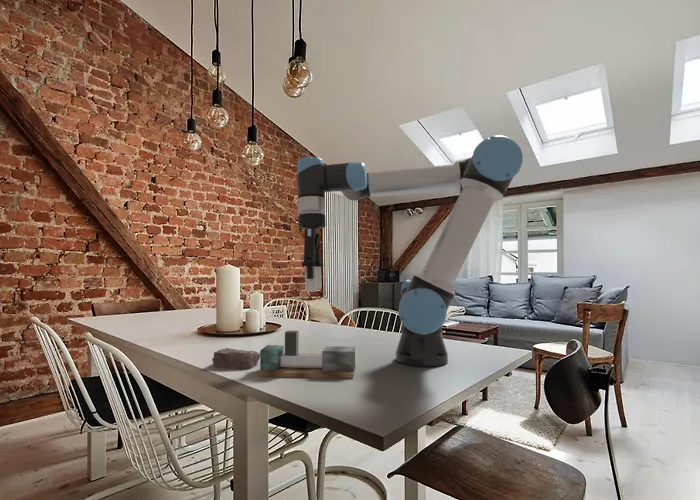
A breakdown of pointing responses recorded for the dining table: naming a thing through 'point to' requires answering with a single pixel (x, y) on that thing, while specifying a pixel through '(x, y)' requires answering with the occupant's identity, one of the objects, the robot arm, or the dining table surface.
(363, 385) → the dining table surface
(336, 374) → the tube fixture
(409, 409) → the dining table surface
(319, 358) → the grey bar with post
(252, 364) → the stone
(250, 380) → the dining table surface
